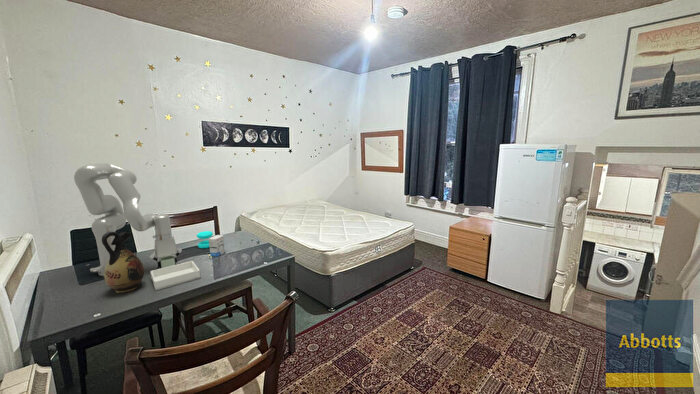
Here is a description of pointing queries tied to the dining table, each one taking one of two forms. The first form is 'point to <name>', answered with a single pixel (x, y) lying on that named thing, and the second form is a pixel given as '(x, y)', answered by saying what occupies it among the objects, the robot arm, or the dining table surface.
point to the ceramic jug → (122, 264)
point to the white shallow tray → (174, 275)
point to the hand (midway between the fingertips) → (167, 265)
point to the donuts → (204, 236)
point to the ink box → (216, 245)
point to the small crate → (167, 261)
